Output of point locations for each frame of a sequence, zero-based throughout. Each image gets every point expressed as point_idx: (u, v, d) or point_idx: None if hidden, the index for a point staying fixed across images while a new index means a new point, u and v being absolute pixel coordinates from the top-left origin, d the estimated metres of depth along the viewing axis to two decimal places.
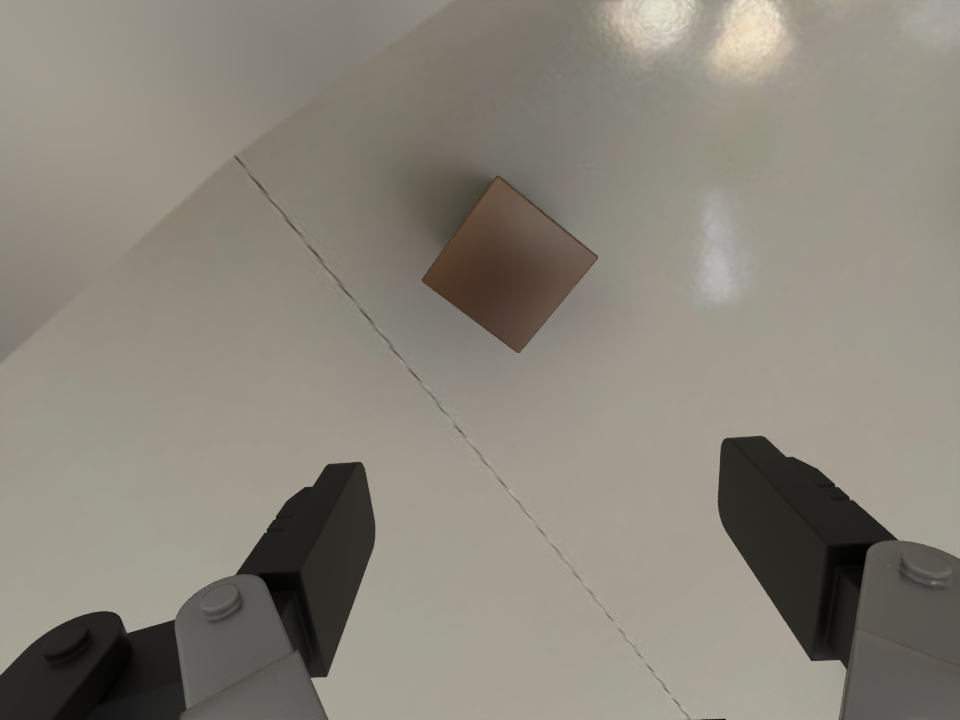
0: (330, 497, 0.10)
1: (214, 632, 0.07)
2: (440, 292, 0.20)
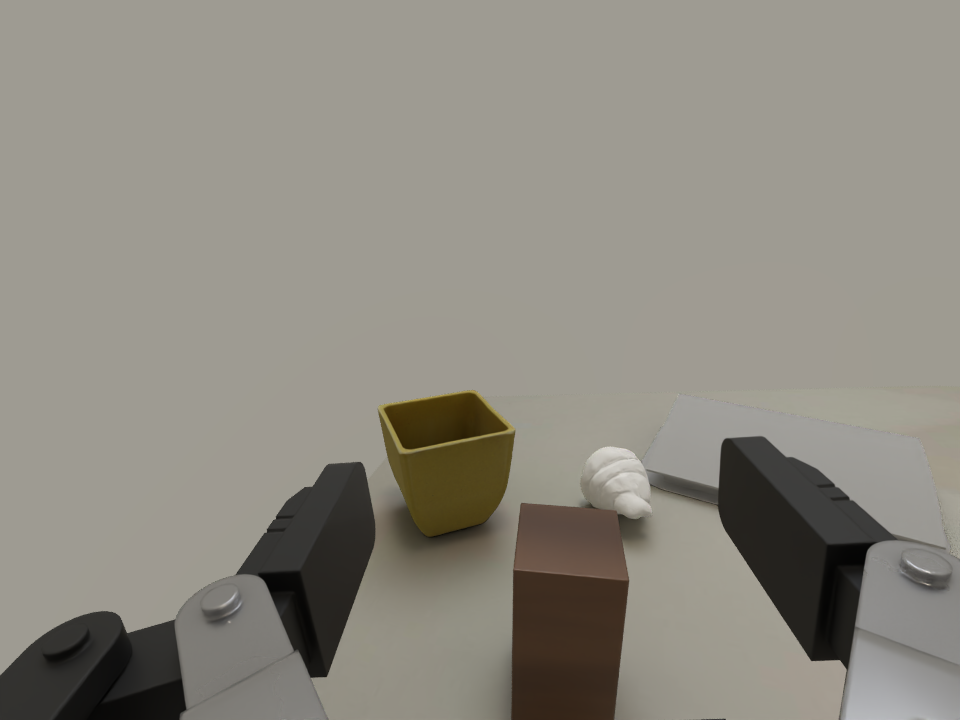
0: (330, 497, 0.10)
1: (214, 632, 0.07)
2: None
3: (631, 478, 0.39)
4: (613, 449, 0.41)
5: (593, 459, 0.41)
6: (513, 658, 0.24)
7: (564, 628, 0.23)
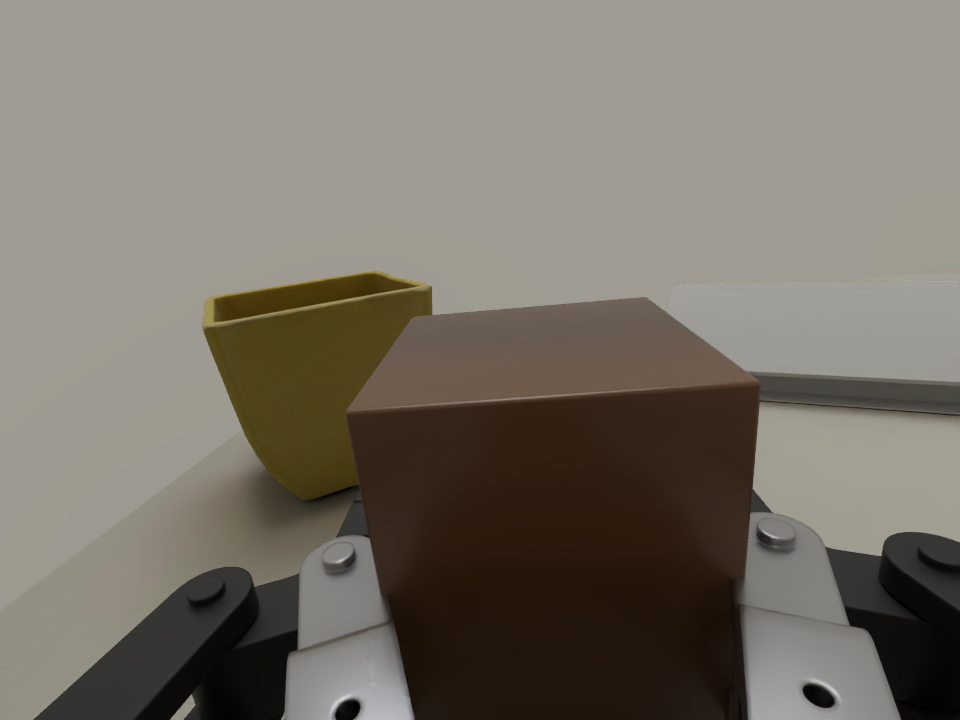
0: None
1: (340, 583, 0.07)
2: None
3: None
4: None
5: None
6: None
7: (550, 602, 0.07)
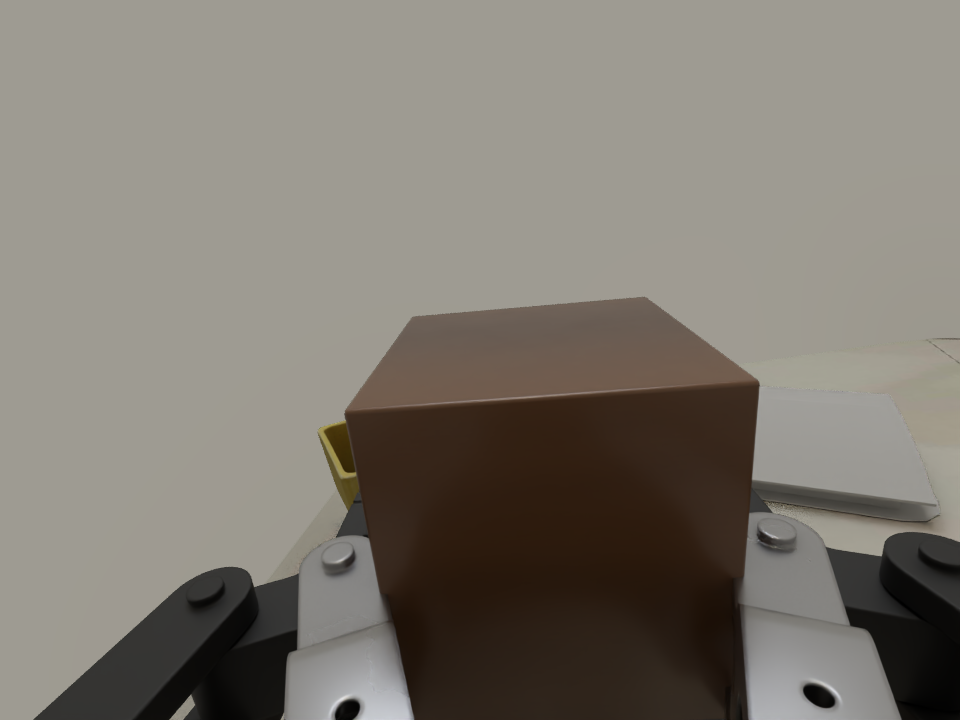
0: None
1: (339, 583, 0.07)
2: None
3: None
4: None
5: None
6: None
7: (550, 602, 0.07)
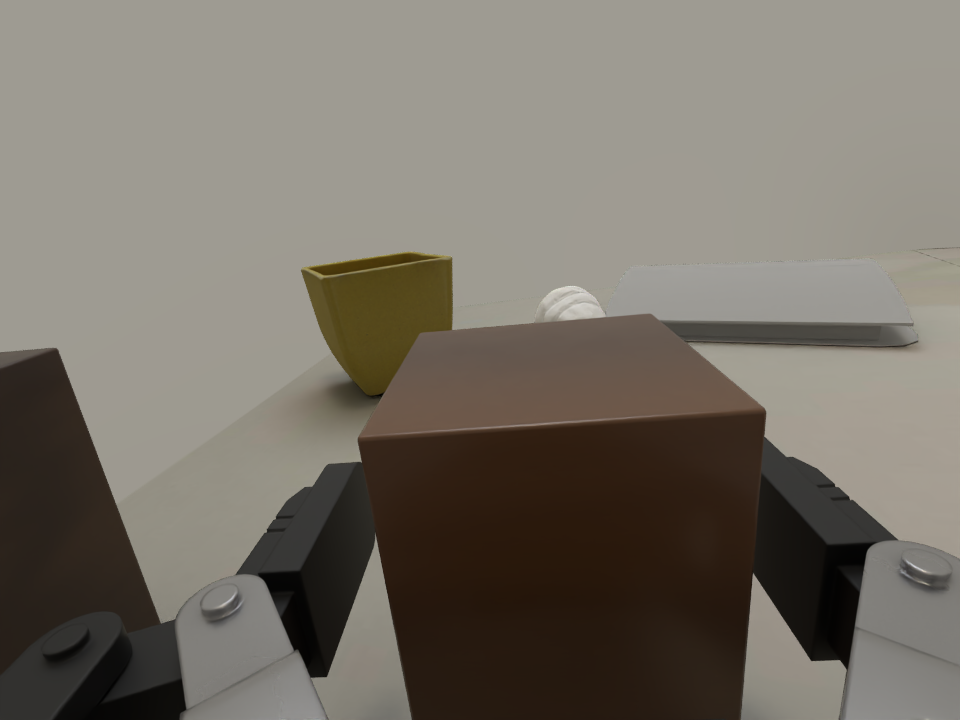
0: (330, 497, 0.10)
1: (214, 632, 0.07)
2: None
3: (585, 307, 0.36)
4: (563, 287, 0.38)
5: (543, 299, 0.38)
6: None
7: (558, 622, 0.07)
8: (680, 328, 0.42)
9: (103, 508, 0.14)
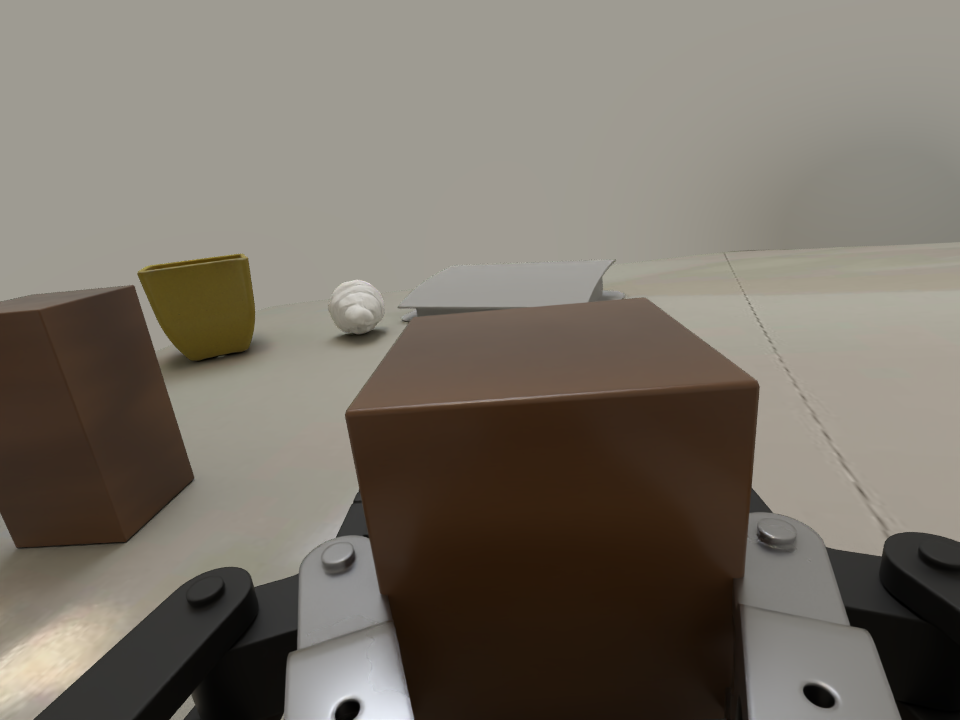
0: None
1: (339, 583, 0.07)
2: (720, 356, 0.07)
3: (358, 295, 0.49)
4: None
5: (334, 290, 0.50)
6: None
7: (4, 394, 0.19)
8: (453, 313, 0.54)
9: None
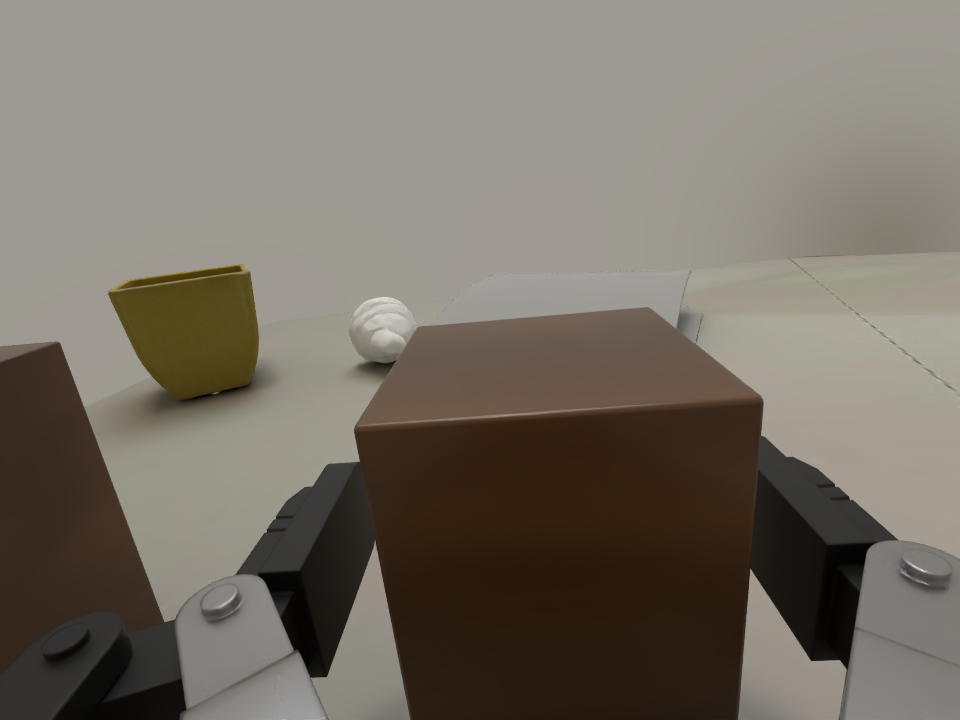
0: (330, 497, 0.10)
1: (214, 632, 0.07)
2: (724, 371, 0.07)
3: (387, 317, 0.39)
4: (376, 298, 0.41)
5: None
6: None
7: None
8: None
9: None
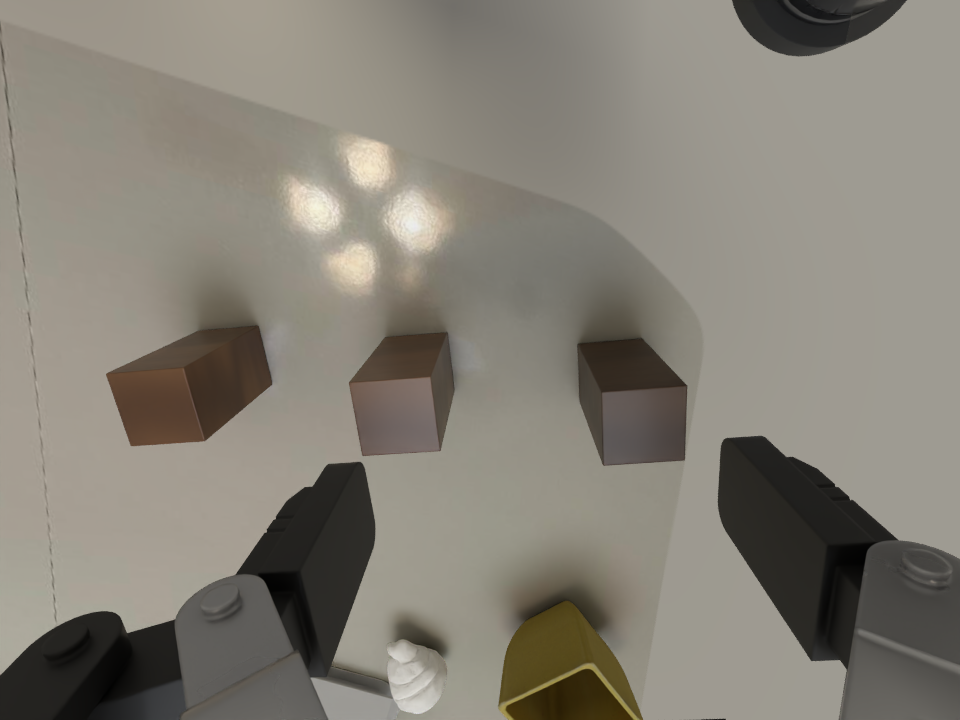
0: (330, 497, 0.10)
1: (214, 632, 0.07)
2: (111, 387, 0.31)
3: (401, 677, 0.46)
4: (416, 708, 0.45)
5: (434, 695, 0.45)
6: (439, 350, 0.35)
7: (401, 362, 0.33)
8: None
9: (590, 426, 0.36)
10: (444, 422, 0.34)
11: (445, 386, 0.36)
